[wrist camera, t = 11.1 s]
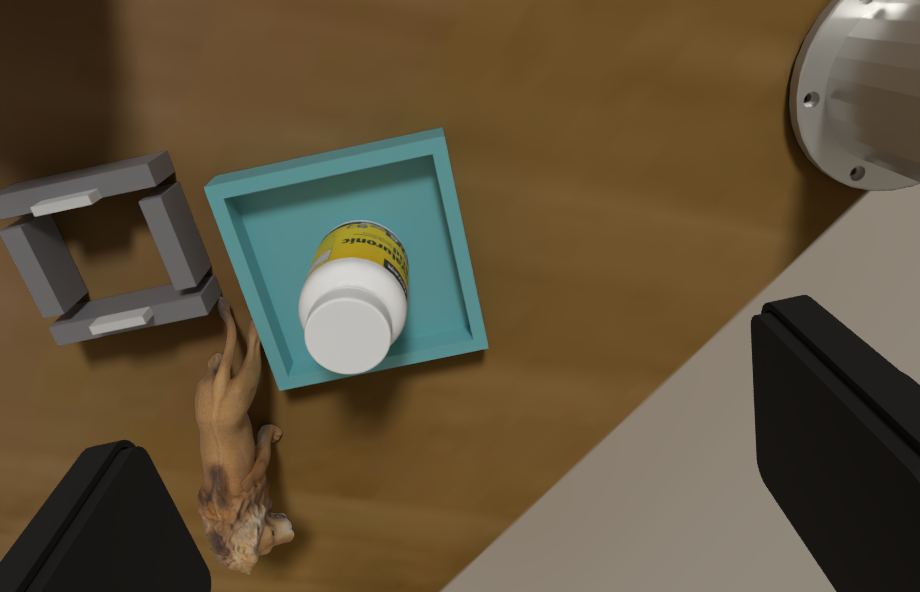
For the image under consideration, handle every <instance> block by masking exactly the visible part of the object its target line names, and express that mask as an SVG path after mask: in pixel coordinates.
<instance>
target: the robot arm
mask: <svg viewBox="0 0 920 592" xmlns="http://www.w3.org/2000/svg"><path fill="white" fill-rule="evenodd" d="M806 95H807V99H806V100H805V101H804V98H805V96H806ZM789 109H790V116H791V124H792V128H793V131H794V133H795V136H796V139H797V142H798V144H799V146H800V148H801V149H802V151H803V152H804V154H805V155H806V157H807V158H808V160H809V161H810V162H811V163H812V164H814V165H815V166H816V167H817V168H818V169H819V170H820V171H821V172H822V173H824V174H826V175H828V176H829V177H831V178H833V179H835V180H837V181H839V182H841V183H843V184H846V185H848V186H850V187H854V188H859V189H865V190H870V191H885V190H896V189H901V188H906V187H911V186H914V185H917V184H919V183H920V0H831V2H830V3H829V4H828V5H827V6H826V8H825V9H824V10H823V11H822V12H821V14H820V15H819V16H818V18H817V19H816V21H815V23H814V24H813V26H812V28H811V29H810V31H809V32H808V34H807V36H806V37H805V40H804V42H803V44H802V47H801V49H800V52H799V54H798V56H797V59H796V62H795V66H794V70H793V74H792V79H791V83H790V98H789ZM751 339H752V341H751V342H752V364H753V385H754V408H755V431H756V452H757V464H758V468H759V472H760V474H761V477H762V479H763V482H764V483H765V485H766V487H767V488H768V490H769V491H770V492H771V494H772V496H773V497H774V499H775V500H776V502H777V503H778V505H779V506H780V508H781V509H782V511H783V512H784V514H785V515H786V517H787V518H788V520H789V521H790V522H791V524H792V526H793V527H794V529H795V530H796V532H797V533H798V535H799V536H800V538H801V539H802V541H803V542H804V544H805V545H806V547H807V548H808V550H809V551H810V553H811V554H812V556H813V557H814V559H815V560H816V562H817V563H818V565H819V566H820V567H821V569H822V570H823V572H824V573H825V575H826V576H827V578H828V580H829V581H830V583H831V584H832V586H833V587H834V588H835V590H836V592H920V385H919V384H918V383H917V382H915V381H914V380H913V379H912V378H910V377H909V376H908V375H906V374H904V373H903V372H901V371H899V370H898V369H897V368H896V367H895V366H893V365H892V364H891V363H890V362H888V361H887V360H886V359H885V358H884V357H882V356H881V355H880V354H879V353H878V352H876V351H875V350H874V349H873V348H871V347H870V346H869V345H868V344H867V343H866V342H864V341H863V340H862V339H861V338H859V337H858V336H857V335H856V334H854V333H853V332H852V331H851V330H850V329H848V328H847V327H846V326H845V325H844V324H843V323H841V322H840V321H839V320H837V319H836V318H835V317H834V316H833V315H832V314H830V313H829V312H828V311H827V310H826V309H824V308H823V307H822V306H821V305H819V304H818V303H817V302H816V301H815V300H813V299H812V298H811V297H809V296H807V295H801V296H796V297H792V298H788V299H783V300H778V301H773V302H768V303H765V304H764V305H763V308H762V311H761V314H759V315H754V316H753V317H752V320H751ZM210 591H211V576H210V572H209V569H208V567H207V565H206V563H205V561H204V559H203V558H202V556H201V554H200V552H199V550H198V548H197V546H196V544H195V542H194V540H193V538H192V536H191V535H190V533H189V531H188V529H187V527H186V525H185V523H184V521H183V519H182V517H181V515H180V514H179V512H178V510H177V508H176V506H175V504H174V502H173V500H172V498H171V496H170V494H169V493H168V491H167V489H166V487H165V485H164V483H163V481H162V479H161V477H160V475H159V473H158V471H157V470H156V468H155V466H154V464H153V462H152V460H151V458H150V456H149V454H148V453H147V451H146V450H145V449H144V448H142V447H139V446H137V447H136V446H135V445H134V444H133V443H132V442H130V441H128V440H121V441H116V442H112V443H107V444H102V445H97V446H93V447H89V448H86V449H85V450H84V451H83V452H82V453H81V455H80V456H79V457H78V459H77V460H76V461H75V463H74V464H73V465H72V467H71V468H70V469H69V471H68V472H67V473H66V475H65V476H64V477H63V479H62V480H61V481H60V483H59V484H58V485H57V487H56V488H55V490H54V491H53V492H52V494H51V495H50V496H49V498H48V499H47V500H46V502H45V503H44V504H43V506H42V507H41V508H40V510H39V511H38V512H37V514H36V515H35V516H34V518H33V519H32V520H31V522H30V523H29V524H28V526H27V527H26V528H25V530H24V531H23V532H22V534H21V535H20V536H19V538H18V539H17V540H16V542H15V543H14V544H13V546H12V547H11V548H10V550H9V551H8V552H7V554H6V555H5V556H4V558H3V559H2V561H1V562H0V592H210Z"/></svg>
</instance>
